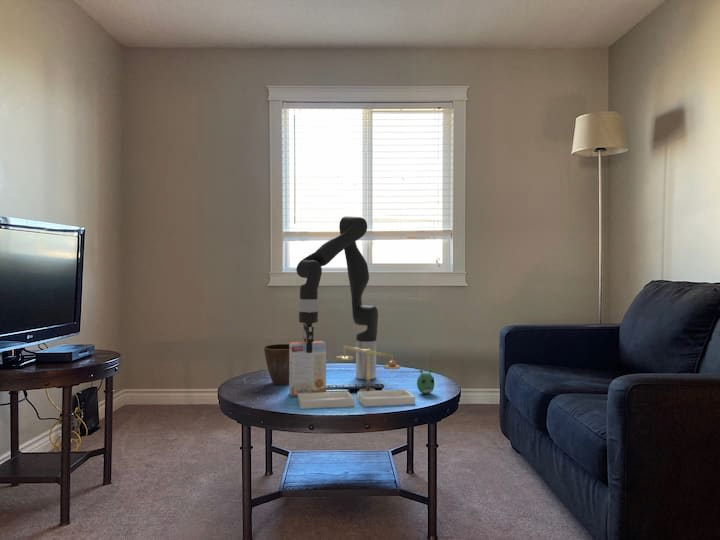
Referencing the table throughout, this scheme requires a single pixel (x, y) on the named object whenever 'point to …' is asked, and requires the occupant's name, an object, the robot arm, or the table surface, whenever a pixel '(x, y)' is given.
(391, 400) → the dish
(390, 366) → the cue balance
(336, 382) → the table surface
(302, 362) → the cracker box
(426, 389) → the alien toy
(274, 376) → the plant pot
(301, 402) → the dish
